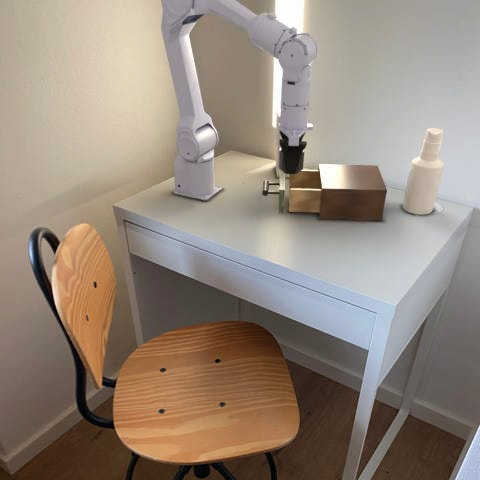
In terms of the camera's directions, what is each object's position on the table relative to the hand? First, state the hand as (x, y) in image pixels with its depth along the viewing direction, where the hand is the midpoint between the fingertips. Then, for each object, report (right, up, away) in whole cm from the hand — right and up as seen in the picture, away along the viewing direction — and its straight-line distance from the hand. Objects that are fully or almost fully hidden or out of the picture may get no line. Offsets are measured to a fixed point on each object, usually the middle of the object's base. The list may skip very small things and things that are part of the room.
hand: (290, 167), depth 111 cm
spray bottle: (+30, -8, +7) cm, 32 cm away
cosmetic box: (+2, +6, +25) cm, 26 cm away
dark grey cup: (0, -1, +1) cm, 1 cm away
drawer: (+2, -5, +9) cm, 10 cm away
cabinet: (+14, -7, +8) cm, 18 cm away
